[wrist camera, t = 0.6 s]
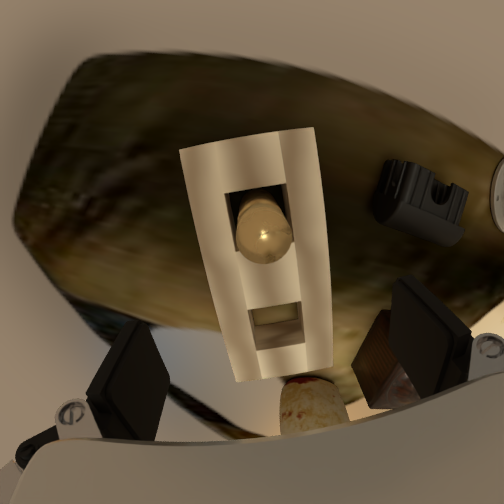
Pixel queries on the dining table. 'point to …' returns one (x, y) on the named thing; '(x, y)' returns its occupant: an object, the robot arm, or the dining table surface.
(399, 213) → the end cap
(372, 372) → the manual coffee grinder
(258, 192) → the pin
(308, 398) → the food model
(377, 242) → the dining table surface
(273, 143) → the board
